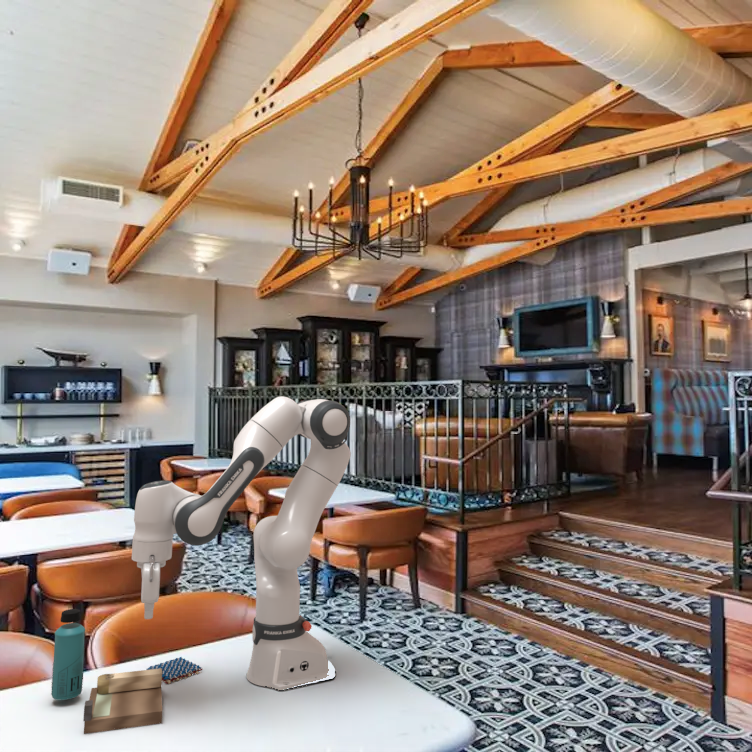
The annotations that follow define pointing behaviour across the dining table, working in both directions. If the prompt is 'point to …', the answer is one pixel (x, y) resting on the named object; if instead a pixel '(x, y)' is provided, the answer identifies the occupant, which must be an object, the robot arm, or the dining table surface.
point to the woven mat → (176, 669)
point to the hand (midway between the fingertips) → (148, 611)
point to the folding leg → (129, 681)
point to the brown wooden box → (122, 709)
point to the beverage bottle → (68, 657)
